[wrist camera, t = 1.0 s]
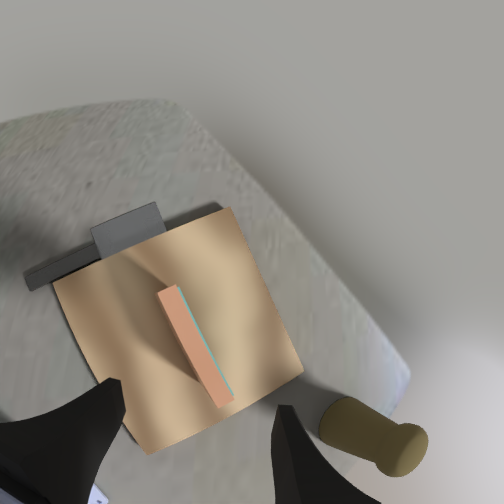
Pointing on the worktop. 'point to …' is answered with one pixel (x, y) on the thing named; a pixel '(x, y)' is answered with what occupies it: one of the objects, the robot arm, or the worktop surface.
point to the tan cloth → (162, 337)
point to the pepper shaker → (373, 437)
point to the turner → (105, 243)
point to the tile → (194, 345)
